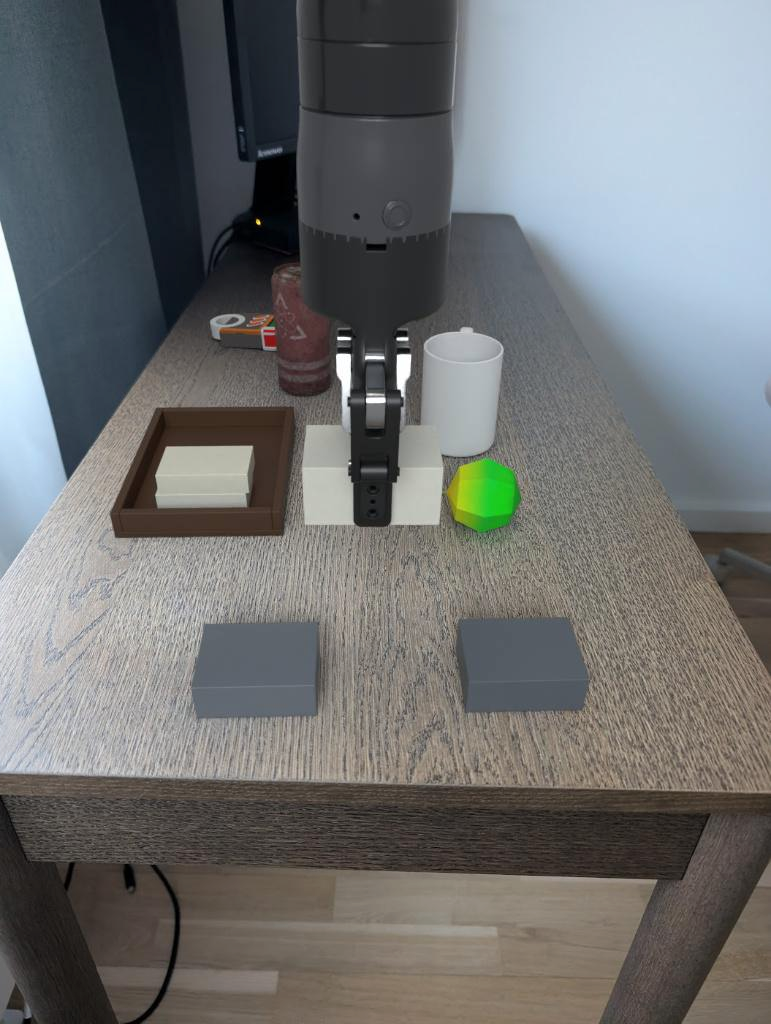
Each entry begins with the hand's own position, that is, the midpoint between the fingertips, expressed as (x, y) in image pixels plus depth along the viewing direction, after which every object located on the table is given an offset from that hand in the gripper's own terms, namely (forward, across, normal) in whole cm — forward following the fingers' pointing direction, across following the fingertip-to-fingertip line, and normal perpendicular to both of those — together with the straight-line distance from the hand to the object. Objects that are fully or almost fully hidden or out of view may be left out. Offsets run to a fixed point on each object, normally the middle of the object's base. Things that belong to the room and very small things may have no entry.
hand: (371, 495), depth 48 cm
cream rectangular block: (0, 0, 0) cm, 0 cm away
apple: (+15, -17, +9) cm, 24 cm away
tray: (+15, -25, -15) cm, 33 cm away
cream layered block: (+14, -20, -15) cm, 29 cm away
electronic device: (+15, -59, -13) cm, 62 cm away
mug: (+14, -34, +10) cm, 38 cm away
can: (+15, -45, -7) cm, 48 cm away
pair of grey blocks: (+14, +2, +1) cm, 15 cm away
